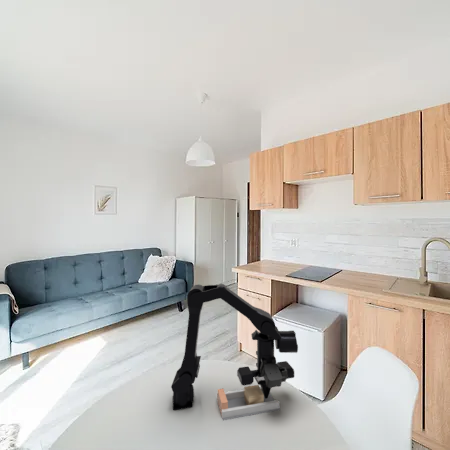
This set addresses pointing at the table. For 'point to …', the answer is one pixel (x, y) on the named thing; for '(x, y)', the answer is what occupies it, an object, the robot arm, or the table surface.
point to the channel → (242, 405)
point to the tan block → (253, 395)
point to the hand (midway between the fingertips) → (265, 397)
